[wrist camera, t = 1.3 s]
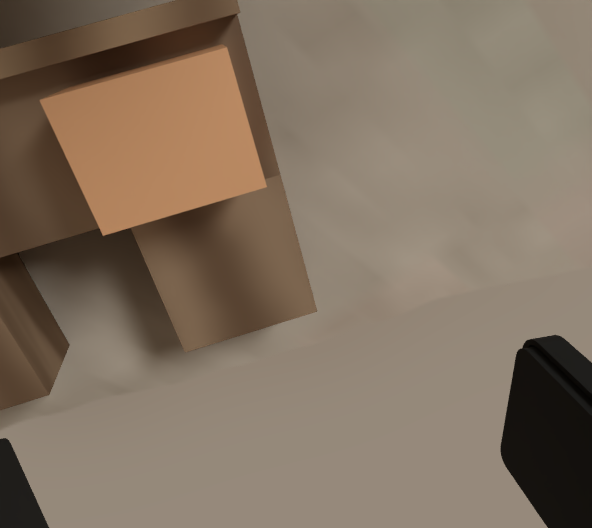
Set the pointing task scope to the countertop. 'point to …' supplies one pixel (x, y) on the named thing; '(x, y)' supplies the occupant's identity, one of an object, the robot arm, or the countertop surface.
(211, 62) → the block
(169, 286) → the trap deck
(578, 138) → the countertop surface
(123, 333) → the countertop surface
